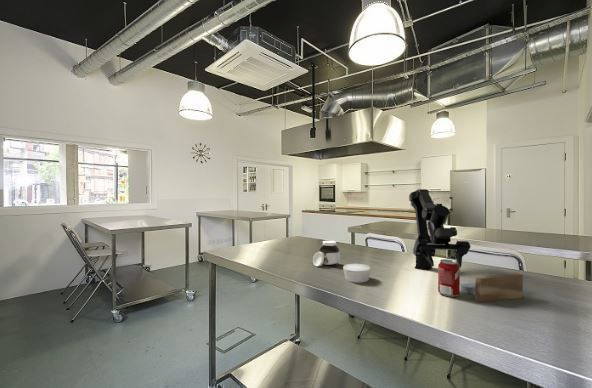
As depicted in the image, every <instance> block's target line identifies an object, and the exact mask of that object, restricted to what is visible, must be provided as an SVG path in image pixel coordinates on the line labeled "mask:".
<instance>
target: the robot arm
mask: <svg viewBox="0 0 592 388" xmlns="http://www.w3.org/2000/svg"><path fill="white" fill-rule="evenodd" d="M408 199H409V202H410V206H411V207H412V208H413V210H414V212H415V220H416V228H417V229H416V230H417V238H416V240H415V243H414V246H413V247H412V248H413V249H412V254H413V255H414V256H415V266H414V269H419V270H424V271H430V270H431V269H433V267H434V266H435V263H434V262H435V261H434V259H433V257H435V255H436V250H440V251H441V250H443V251H453V252H454V253H455V254H454V258H455V261H457V262H458V266H459V267H460V269H461V268H462V265H463V263H462V262H463V257H464V256H465V255H467V254H468V253H469V250H470V249H471V248H472V246H471V243H470V242H469V241H467V240H456V242H455V244H450V243H451V241H452V240H451V238H453V237H456V236H458V230H457V227H455V226H451V227H445V225H446V223H447V221H448V218H449V216H450V213H451V211H450V209H449V208H448V207H447V206H445V205H443V203H434V200H433V199H432V197H431V195H430V192H429V189H422V188H419V189H416V190H414V191H412V192H411V193H409V196H408Z"/></svg>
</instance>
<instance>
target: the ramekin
mask: <svg viewBox="0 0 592 388" xmlns="http://www.w3.org/2000/svg"><path fill="white" fill-rule="evenodd" d="M342 269H343V273H344V278H345V280H346V281H348V282H349V283H355V284H361V283H366V282H368V281H369V280H370V273H371V267H370V266H369V265H366V264H364V263H348V264H344V265H343V267H342Z"/></svg>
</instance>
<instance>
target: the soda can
mask: <svg viewBox="0 0 592 388" xmlns="http://www.w3.org/2000/svg"><path fill="white" fill-rule="evenodd" d="M460 271H461V268H460V267H459V266H458V262H457V261H456V260H454V259H453V260H452V259H447V258H446V259H445V258H443V259H440V260H439V263H438V266H437V279H438V280H437V292H438V293H439V294H440V295H442V296H445V297H447V298H448V297H449V298H455V297H459V296H460V292H461V291H460V290H461V283H460V281H461V280H460V279H461V274H460V273H461V272H460Z"/></svg>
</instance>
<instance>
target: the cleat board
mask: <svg viewBox="0 0 592 388" xmlns="http://www.w3.org/2000/svg"><path fill="white" fill-rule="evenodd" d="M523 276H524V274H522V273H518V272H516V273H515V272H514V273H505V274H503V273H502V274H494V275H491V274H490V275H483V276H481V275H480V276H475V282H469V283H460V290H461V291H464V292H466V293H469V294H471V295H473V296H475V299H474V300H475V302H479V303H488V302H498V301H505V300H513V299H522V298H524V297H523V295H524V294H523V290H524V289H523V288H524V286H523V285H524V283H523V281H524V277H523Z"/></svg>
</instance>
